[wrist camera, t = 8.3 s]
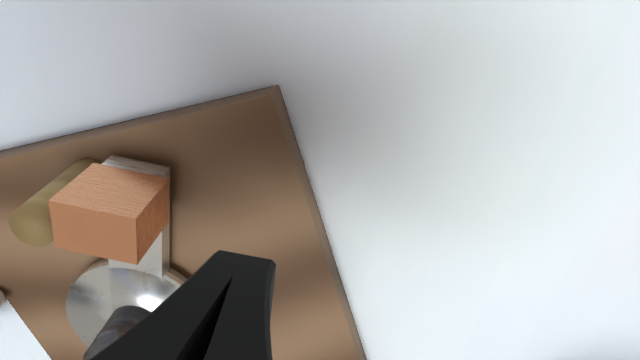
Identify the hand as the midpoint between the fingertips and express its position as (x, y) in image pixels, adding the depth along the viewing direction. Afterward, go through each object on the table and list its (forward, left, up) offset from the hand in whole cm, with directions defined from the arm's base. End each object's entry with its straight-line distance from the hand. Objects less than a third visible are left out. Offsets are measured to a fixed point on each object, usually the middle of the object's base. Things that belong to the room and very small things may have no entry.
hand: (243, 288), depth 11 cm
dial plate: (+5, -9, -8) cm, 13 cm away
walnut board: (+6, -9, -9) cm, 14 cm away
